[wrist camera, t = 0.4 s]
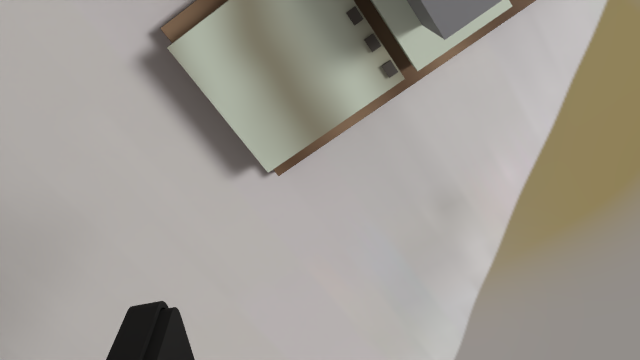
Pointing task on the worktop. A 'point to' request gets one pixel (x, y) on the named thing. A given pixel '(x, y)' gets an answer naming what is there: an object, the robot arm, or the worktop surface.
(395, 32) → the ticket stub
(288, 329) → the worktop surface
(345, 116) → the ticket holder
